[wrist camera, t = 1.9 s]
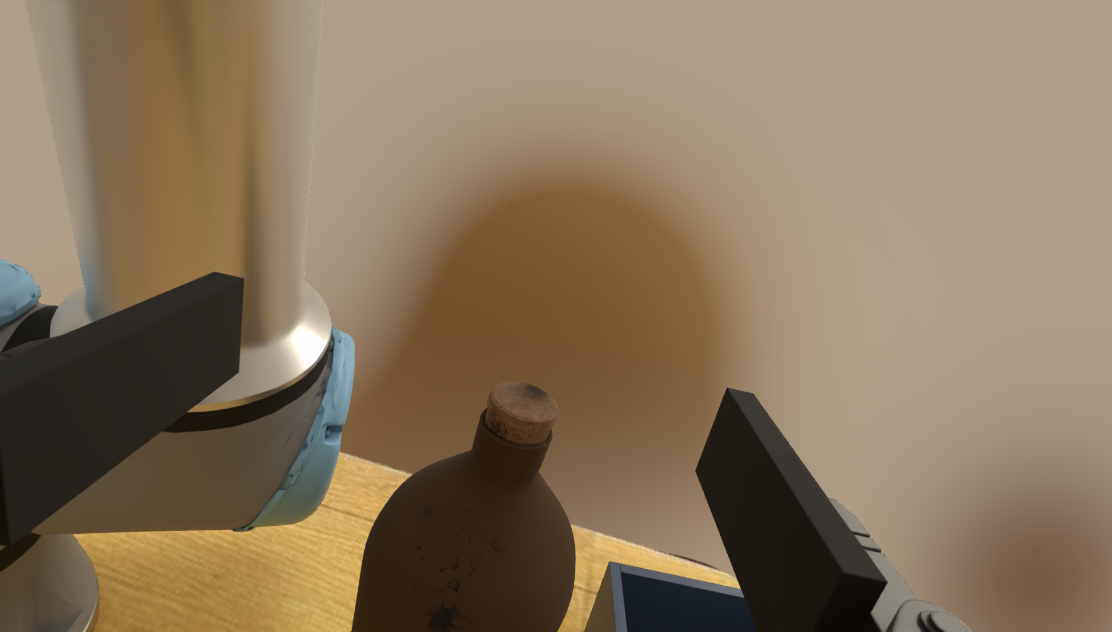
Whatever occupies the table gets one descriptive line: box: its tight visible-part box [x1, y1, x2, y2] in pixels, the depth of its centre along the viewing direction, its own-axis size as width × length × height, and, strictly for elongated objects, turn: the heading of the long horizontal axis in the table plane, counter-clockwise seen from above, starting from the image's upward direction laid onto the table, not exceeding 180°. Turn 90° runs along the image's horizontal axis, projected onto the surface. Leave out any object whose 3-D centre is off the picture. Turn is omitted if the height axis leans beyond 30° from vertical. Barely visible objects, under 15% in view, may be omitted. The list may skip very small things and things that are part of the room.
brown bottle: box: [351, 382, 576, 632], centre depth 29 cm, size 11×11×25 cm
